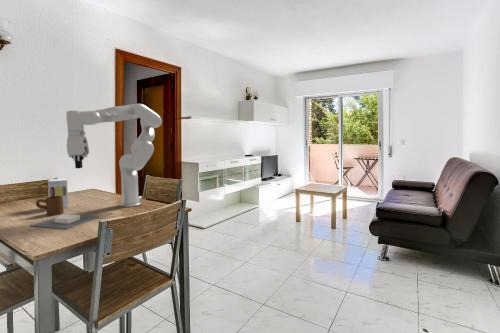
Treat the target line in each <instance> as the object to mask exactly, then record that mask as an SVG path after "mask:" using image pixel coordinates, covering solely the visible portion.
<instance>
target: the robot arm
mask: <svg viewBox="0 0 500 333" xmlns="http://www.w3.org/2000/svg"><path fill="white" fill-rule="evenodd" d="M65 115H66V117H65V118H66V126H67V137H66V152H67V155H68V158H71V159H72V160H73V161H74V167H75V169H83V161H84V159H85V158H87V157H88V155H89V154H90V148H89V143H88V139H87V136H86V132H85V127H84V126H94V125H97V124H100V123H101V124H102V123H113V122H121V121H128V120H133V119H140V120H139V121H140V126H141V133H140V135H139V136H138V137H137V138H136V140H135V141H134V142H133V144H132V145H131V148H130V151H131V153H132V154H130V153H129V154H124V155H122V156H121V157H120V159H119V163H118V164H119V169H120V180H121V184H120V185H121V202H119V207H122V208H124V207H125V208H129V207H137V206H140V205H142V201H141V200H142V199H143V196H141V195H140V196H139V176H138V175H139V174H138V171H141V170H142V169H143V168H145V166H146V165H147V162H148V161H149V160H150V159H151V157H152V156H153V154H154V150H155V147H154V144H153V141H154V140H155V137H156V131H155V129H156V128H160V126H161V125H162V123H163V121H162V118H161V116H160V115H159V114H158V113H157V112H155V111H154V110H152V109H150V108H149V107H148V106H146V105H145V104H142V103H135V104H134V103H133V104H125V105H117V106H111V107H107V108H102V109H97V110H87V111H85V110H83V111H81V110H67V111H66V113H65Z"/></svg>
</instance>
